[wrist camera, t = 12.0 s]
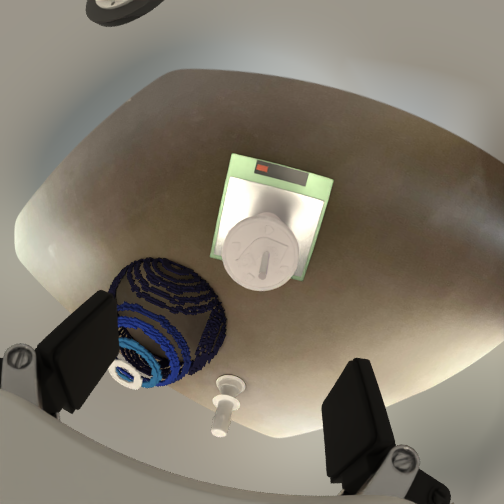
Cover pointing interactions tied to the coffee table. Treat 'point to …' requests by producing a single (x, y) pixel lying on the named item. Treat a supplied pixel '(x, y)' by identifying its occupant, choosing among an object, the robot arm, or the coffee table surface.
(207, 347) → the decorative bowl
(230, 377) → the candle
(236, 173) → the scale
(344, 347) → the coffee table surface
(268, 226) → the smoothie
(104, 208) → the coffee table surface
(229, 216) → the scale platform
